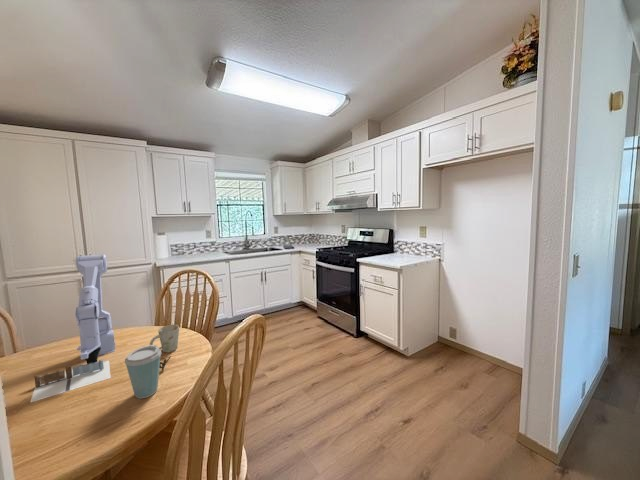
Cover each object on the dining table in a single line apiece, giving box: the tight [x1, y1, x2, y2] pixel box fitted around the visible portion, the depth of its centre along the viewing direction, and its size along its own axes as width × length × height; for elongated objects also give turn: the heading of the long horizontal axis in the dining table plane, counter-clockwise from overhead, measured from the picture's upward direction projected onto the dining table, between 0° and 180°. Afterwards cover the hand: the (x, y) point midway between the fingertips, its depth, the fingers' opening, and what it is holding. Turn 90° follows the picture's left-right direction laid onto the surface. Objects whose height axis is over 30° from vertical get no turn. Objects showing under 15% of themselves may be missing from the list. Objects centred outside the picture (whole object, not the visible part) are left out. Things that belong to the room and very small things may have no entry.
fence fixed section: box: [34, 365, 73, 388], centre depth 99 cm, size 10×2×4 cm, turn 130°
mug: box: [149, 324, 180, 353], centre depth 122 cm, size 8×13×10 cm, turn 148°
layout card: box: [30, 360, 112, 404], centre depth 102 cm, size 21×16×1 cm
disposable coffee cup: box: [124, 344, 163, 399], centre depth 93 cm, size 11×11×15 cm
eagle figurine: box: [159, 356, 171, 372], centre depth 108 cm, size 8×7×9 cm
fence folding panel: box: [72, 359, 104, 376], centre depth 105 cm, size 9×1×4 cm, turn 123°
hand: (92, 367), depth 107 cm, fingers closed, pressing on fence folding panel
